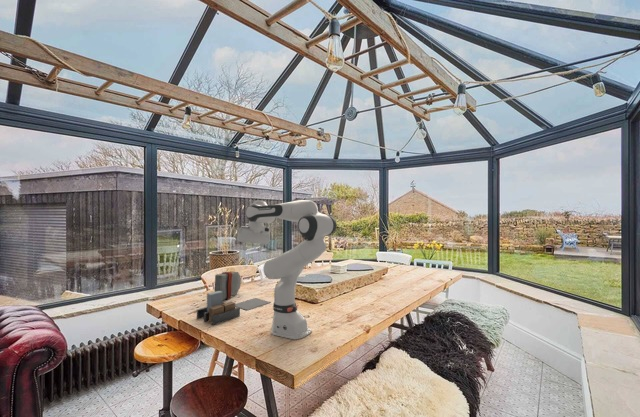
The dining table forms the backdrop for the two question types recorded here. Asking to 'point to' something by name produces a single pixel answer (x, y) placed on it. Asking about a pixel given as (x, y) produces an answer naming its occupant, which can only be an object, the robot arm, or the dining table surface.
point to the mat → (251, 303)
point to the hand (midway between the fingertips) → (252, 250)
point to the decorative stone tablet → (228, 284)
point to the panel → (214, 299)
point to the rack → (218, 315)
